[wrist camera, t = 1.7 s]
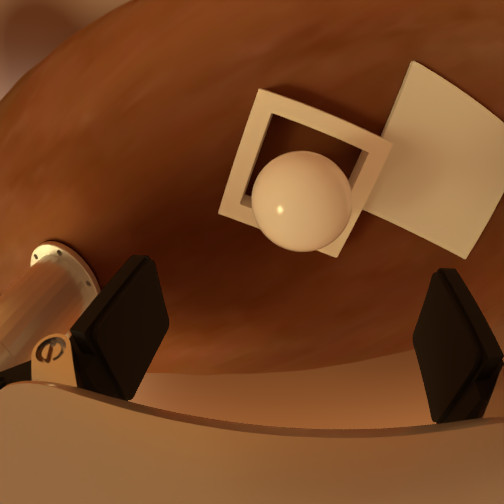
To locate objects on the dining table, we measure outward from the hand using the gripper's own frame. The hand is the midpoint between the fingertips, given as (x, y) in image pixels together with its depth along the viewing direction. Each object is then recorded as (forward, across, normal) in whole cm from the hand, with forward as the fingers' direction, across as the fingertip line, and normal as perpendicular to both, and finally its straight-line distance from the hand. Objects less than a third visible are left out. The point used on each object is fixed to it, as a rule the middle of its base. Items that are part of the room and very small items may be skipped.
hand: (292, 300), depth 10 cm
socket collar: (+18, 0, +1) cm, 19 cm away
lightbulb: (+19, 0, +1) cm, 19 cm away
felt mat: (+19, -13, -1) cm, 23 cm away
